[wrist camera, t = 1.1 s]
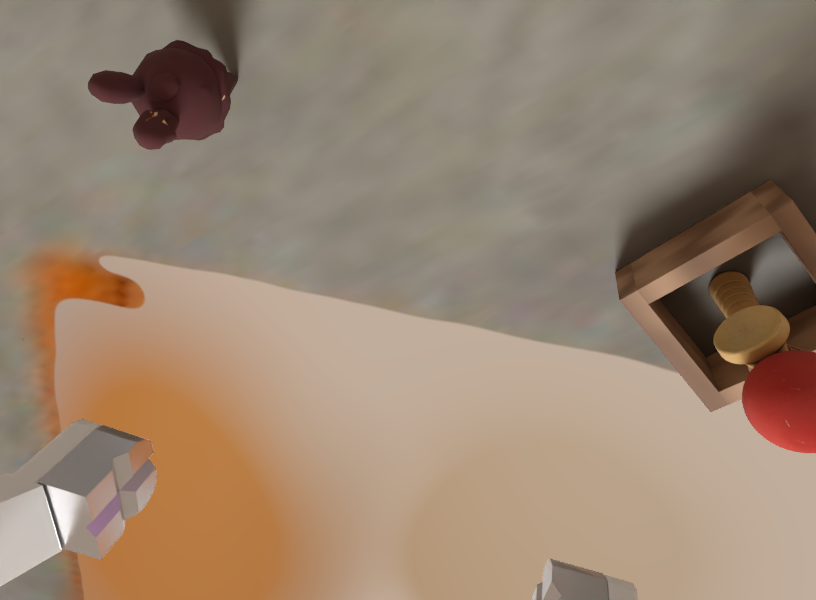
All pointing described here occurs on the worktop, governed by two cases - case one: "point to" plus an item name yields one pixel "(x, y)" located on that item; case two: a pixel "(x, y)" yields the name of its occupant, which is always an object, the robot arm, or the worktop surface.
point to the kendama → (767, 365)
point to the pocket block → (701, 253)
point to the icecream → (171, 94)
